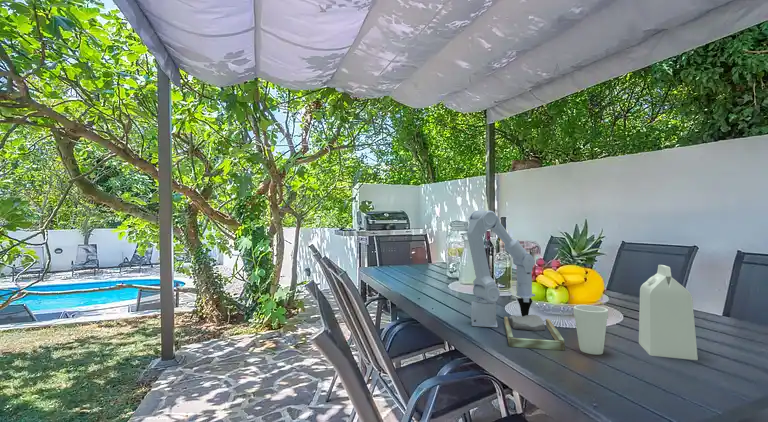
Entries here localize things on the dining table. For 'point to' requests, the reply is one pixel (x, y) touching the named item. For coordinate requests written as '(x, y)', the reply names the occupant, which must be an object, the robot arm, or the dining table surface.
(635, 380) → the dining table surface
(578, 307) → the foam cup
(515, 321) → the stone block
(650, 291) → the milk
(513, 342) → the channel
